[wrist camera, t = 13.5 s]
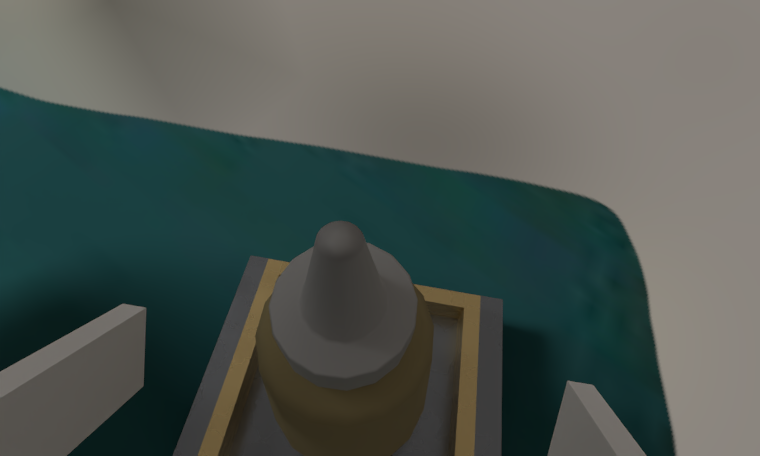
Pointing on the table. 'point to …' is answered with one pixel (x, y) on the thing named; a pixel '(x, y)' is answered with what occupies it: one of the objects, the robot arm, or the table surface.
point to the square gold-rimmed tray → (443, 398)
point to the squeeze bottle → (345, 348)
